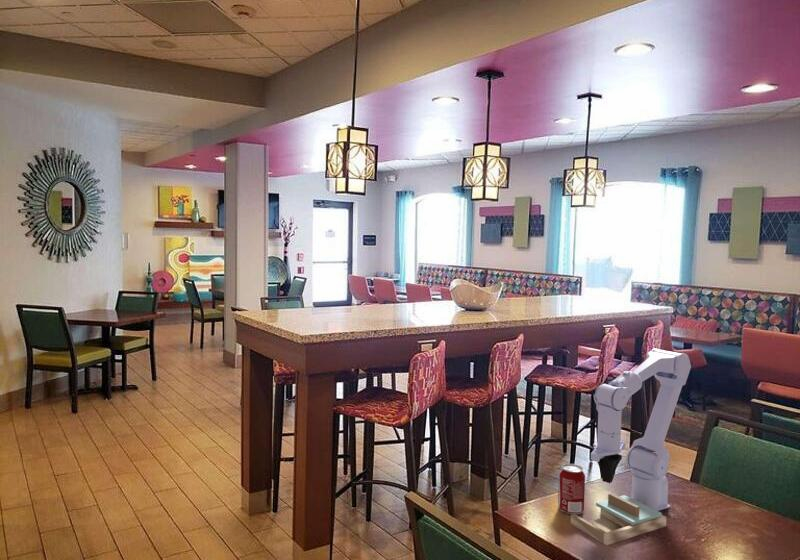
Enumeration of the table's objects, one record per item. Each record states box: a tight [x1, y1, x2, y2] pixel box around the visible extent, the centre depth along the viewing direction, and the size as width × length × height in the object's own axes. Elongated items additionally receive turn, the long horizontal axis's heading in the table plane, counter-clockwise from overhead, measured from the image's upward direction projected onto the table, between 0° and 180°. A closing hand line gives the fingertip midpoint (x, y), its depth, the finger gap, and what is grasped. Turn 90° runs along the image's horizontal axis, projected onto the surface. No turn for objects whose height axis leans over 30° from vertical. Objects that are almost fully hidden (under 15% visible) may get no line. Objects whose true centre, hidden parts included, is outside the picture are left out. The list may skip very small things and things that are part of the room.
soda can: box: [557, 463, 586, 516], centre depth 157 cm, size 7×7×12 cm
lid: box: [595, 492, 663, 525], centre depth 152 cm, size 11×12×3 cm
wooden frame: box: [570, 508, 667, 546], centre depth 150 cm, size 22×13×2 cm, turn 118°
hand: (607, 481), depth 152 cm, fingers closed
